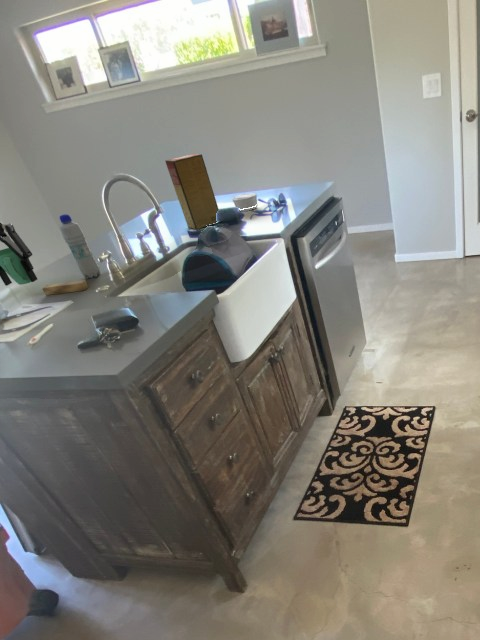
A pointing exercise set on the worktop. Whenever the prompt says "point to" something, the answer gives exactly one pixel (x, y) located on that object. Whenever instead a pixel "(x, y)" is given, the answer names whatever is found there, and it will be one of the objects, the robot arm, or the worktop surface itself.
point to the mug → (13, 266)
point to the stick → (65, 287)
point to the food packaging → (193, 190)
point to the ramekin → (245, 201)
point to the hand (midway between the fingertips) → (21, 282)
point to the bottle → (79, 247)
